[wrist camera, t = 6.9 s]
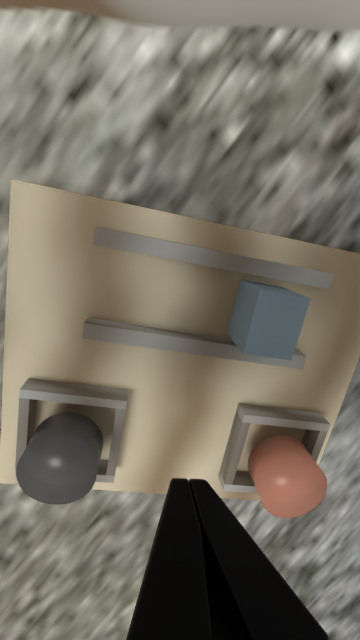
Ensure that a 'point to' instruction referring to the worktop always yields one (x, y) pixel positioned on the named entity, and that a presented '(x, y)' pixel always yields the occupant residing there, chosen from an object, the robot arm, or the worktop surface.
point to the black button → (61, 459)
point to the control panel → (165, 339)
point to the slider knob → (267, 320)
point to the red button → (286, 476)
